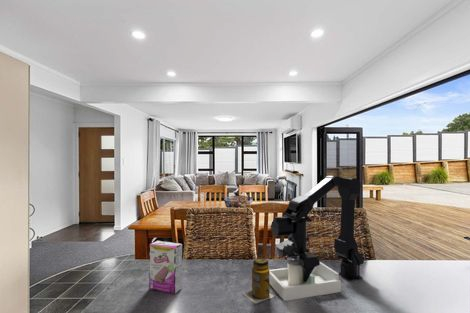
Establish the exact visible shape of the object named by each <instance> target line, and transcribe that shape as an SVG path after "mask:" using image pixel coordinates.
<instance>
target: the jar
mask: <svg viewBox="0 0 470 313" xmlns="http://www.w3.org/2000/svg"><path fill="white" fill-rule="evenodd" d="M298 263H299V256H298V257H297V256H290V257H287V258H286V264H287V268H288V285H289V286H295V285H302V284H303V273H302V267H301V266H300V265H299V264H298Z"/></svg>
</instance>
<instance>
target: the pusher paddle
mask: <svg viewBox="0 0 470 313" xmlns="http://www.w3.org/2000/svg"><path fill="white" fill-rule="evenodd" d="M309 283H315V276H314V275H312V274H310V276H309V278H308V280H307V282H304V281H303V284H309Z"/></svg>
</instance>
